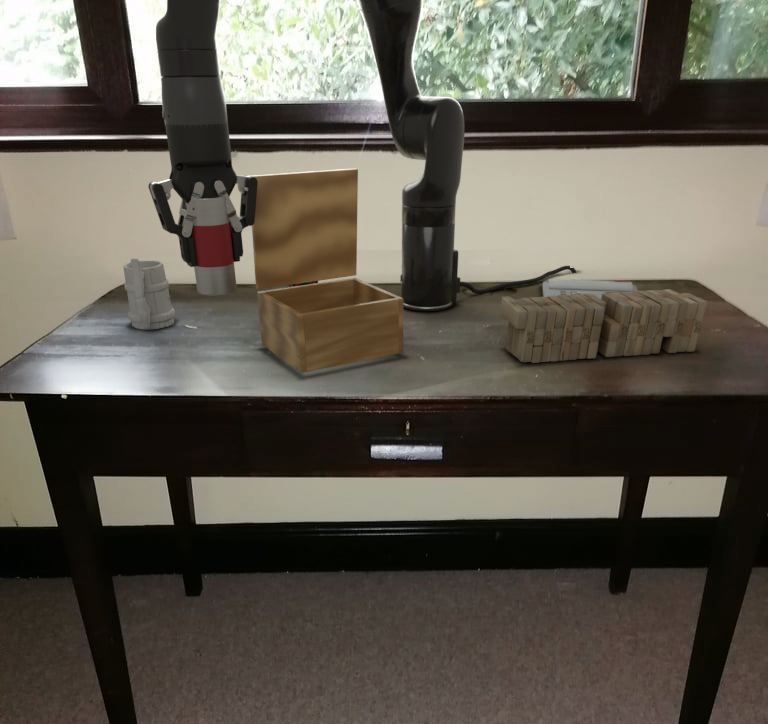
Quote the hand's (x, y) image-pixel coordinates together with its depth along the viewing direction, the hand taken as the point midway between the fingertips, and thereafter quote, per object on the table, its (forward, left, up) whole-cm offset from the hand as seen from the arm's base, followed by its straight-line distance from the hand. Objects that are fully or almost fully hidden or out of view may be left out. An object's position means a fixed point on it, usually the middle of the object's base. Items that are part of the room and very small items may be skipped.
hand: (214, 262), depth 97 cm
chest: (-16, +2, -15) cm, 22 cm away
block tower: (-51, +22, -15) cm, 58 cm away
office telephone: (-70, +3, -15) cm, 72 cm away
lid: (-16, -4, +2) cm, 17 cm away
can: (0, 0, -4) cm, 4 cm away
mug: (+4, -26, -15) cm, 30 cm away
